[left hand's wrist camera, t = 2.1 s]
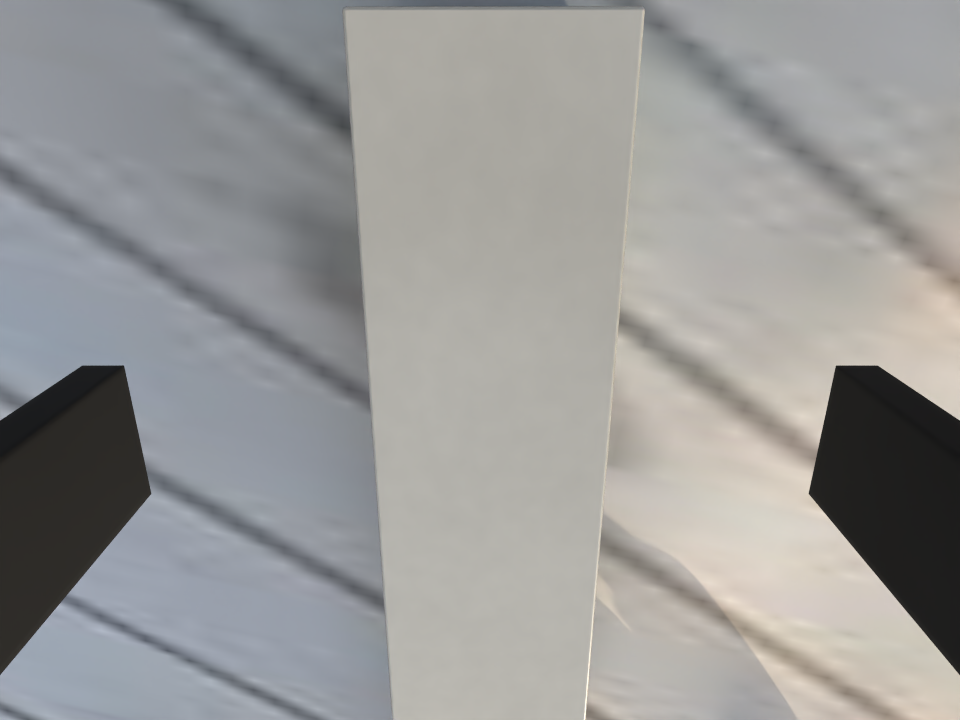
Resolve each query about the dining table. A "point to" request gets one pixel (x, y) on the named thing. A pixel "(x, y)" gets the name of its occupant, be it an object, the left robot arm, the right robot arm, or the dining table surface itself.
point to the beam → (491, 336)
